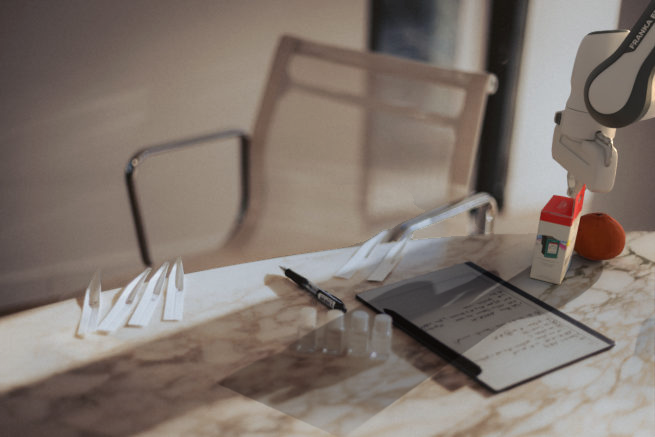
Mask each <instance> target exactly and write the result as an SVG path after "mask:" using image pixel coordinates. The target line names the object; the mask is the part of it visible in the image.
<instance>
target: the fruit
mask: <svg viewBox="0 0 655 437" xmlns="http://www.w3.org/2000/svg"><path fill="white" fill-rule="evenodd" d="M626 237H627V235H626V233H625V230H624V228H623V226H622V225H621V224H620V223H619V222H618V221H617V220H616V219H615V218H613V217H612V216H611V215H610V214H607V213H606V212H598V211H597V212H596V211H595V212H588V213H584V214H581V216H580V220H579V225H578V230H577V235H576V240H575V245H574V250H573V252H575V253H576V254H578V255H579V256H580V257H583V258H585V259H587V260H591V261H607V260H612V259H614V258H616V257H618V256H620V255H621V254H622V253H623V251H624V249H625V247H626Z"/></svg>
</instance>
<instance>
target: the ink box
mask: <svg viewBox="0 0 655 437" xmlns="http://www.w3.org/2000/svg"><path fill="white" fill-rule="evenodd" d="M585 186H586V184H584V185H583V187H582V188H581V189H580V191H579V192H578V194H577V195H576V197H575V198H570V197H569V196H564V195H558V194H553V195H552V196H551V198H550V199H549V200H548V201H547V203H546V204H545V205H544V207H543V208H542V209H541V210H540V214H539V219H538V220H539V221H538V228H537V234H536V239H535V244H534V251H533V256H532V261H531V262H532V263H531V267H530V274H529V278H531V279H534V280H539V281H542V282H547V283H551V284H553V285H561V284H562V282H563V280H564V277H565V276H566V273H567V272H568V270H569V269H570V266H571V264H572V259H573V254H574V245H575V240H576V235H577V230H578V225H579V220H580V216H582V211H583V205H584V198H585V195H586V194H585V193H586V190H585ZM579 198H580V199H579Z"/></svg>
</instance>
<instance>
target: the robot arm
mask: <svg viewBox="0 0 655 437" xmlns="http://www.w3.org/2000/svg"><path fill="white" fill-rule="evenodd" d="M580 41H581V42H580V44H579V46H578V48H577V51H576V55H575V58H574V62H573V66H572V70H571V71H572V72H571V76H570V94H569V95H568V96H569V97H568V98H567V100H566V102H565V108H564V109H562V110H557V111H556V112H555V113H554V117H553V123H554V124H555V126H554V128H553V134H552V140H551V158H552V160H554V162H556V163H557V164H558V165H560V167H562V168H563V169H564V170H565V171H566V182H567V189H566V196H567V197H569V198H575V197H576V195H577V194H578V192H579V191H580V189H581V188H582V187H583V185H584V184H586V186H585V191H586V190H588V192H590V193H598V194H609V193H610V192H611V191H612V190H613V189H614V185H615V181H616V180H615V179H616V173H617V168H618V160H619V159H618V156H619V154H618V151H617V149H616V148H615V147H614V141H613V139H614V138H615V137H616V131H617V129H621V128H625V127H628V126H631V125H633V124H636V123H638V122H642V121H645V120H650V119H654V118H655V0H650V1H649V3H648V5H647V6H646V8H644V10H643V12H642V14H640V16H639V18H638V19H637V21H636V22H635V23H634V25H633V26H632V28H631V29H630V30H629V29H624V28H621V29H619V28H618V29H604V30H595V31H590V32H588V33H587V34H586V35H584V37H582V40H580ZM579 199H580V198H579Z"/></svg>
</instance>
